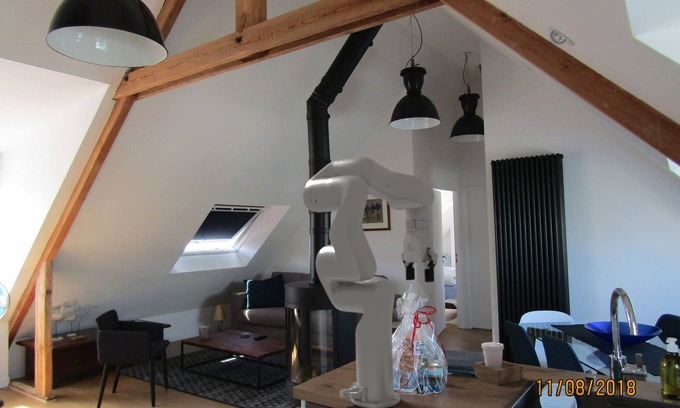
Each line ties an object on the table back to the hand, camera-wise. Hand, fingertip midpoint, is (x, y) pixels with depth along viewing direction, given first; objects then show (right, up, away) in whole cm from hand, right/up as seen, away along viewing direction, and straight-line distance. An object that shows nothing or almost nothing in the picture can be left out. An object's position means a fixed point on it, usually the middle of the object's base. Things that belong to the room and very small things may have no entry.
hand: (419, 280), depth 148 cm
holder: (+21, -27, -10) cm, 36 cm away
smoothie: (+21, -28, -9) cm, 35 cm away
